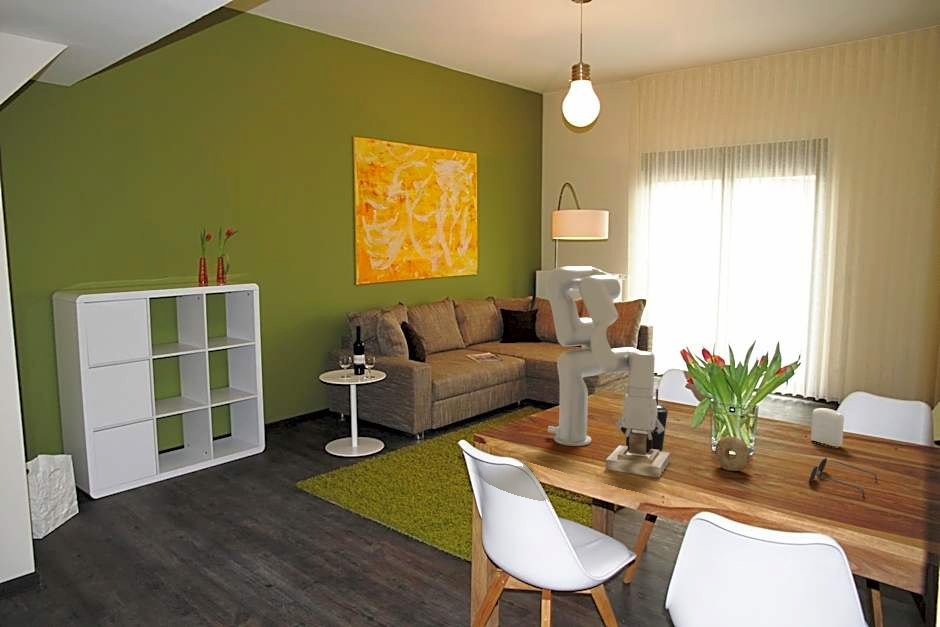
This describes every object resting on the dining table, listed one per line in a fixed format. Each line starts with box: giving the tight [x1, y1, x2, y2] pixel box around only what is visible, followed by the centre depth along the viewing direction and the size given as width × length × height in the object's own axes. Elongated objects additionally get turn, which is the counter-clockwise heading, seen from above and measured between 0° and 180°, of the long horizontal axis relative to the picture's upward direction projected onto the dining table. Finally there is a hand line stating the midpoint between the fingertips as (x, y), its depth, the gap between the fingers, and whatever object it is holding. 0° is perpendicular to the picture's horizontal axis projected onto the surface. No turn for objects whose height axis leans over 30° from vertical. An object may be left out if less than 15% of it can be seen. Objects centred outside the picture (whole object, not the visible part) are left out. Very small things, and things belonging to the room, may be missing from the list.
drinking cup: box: [652, 388, 669, 451], centre depth 229 cm, size 8×8×20 cm
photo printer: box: [810, 407, 845, 446], centre depth 235 cm, size 10×4×12 cm, turn 29°
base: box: [605, 445, 671, 478], centre depth 212 cm, size 16×16×4 cm
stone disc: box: [714, 436, 752, 472], centre depth 208 cm, size 10×4×10 cm, turn 48°
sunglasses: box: [808, 457, 878, 499], centre depth 198 cm, size 17×15×5 cm
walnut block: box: [629, 429, 648, 455], centre depth 211 cm, size 5×5×6 cm
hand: (639, 449), depth 212 cm, fingers closed on walnut block, 5 cm apart
